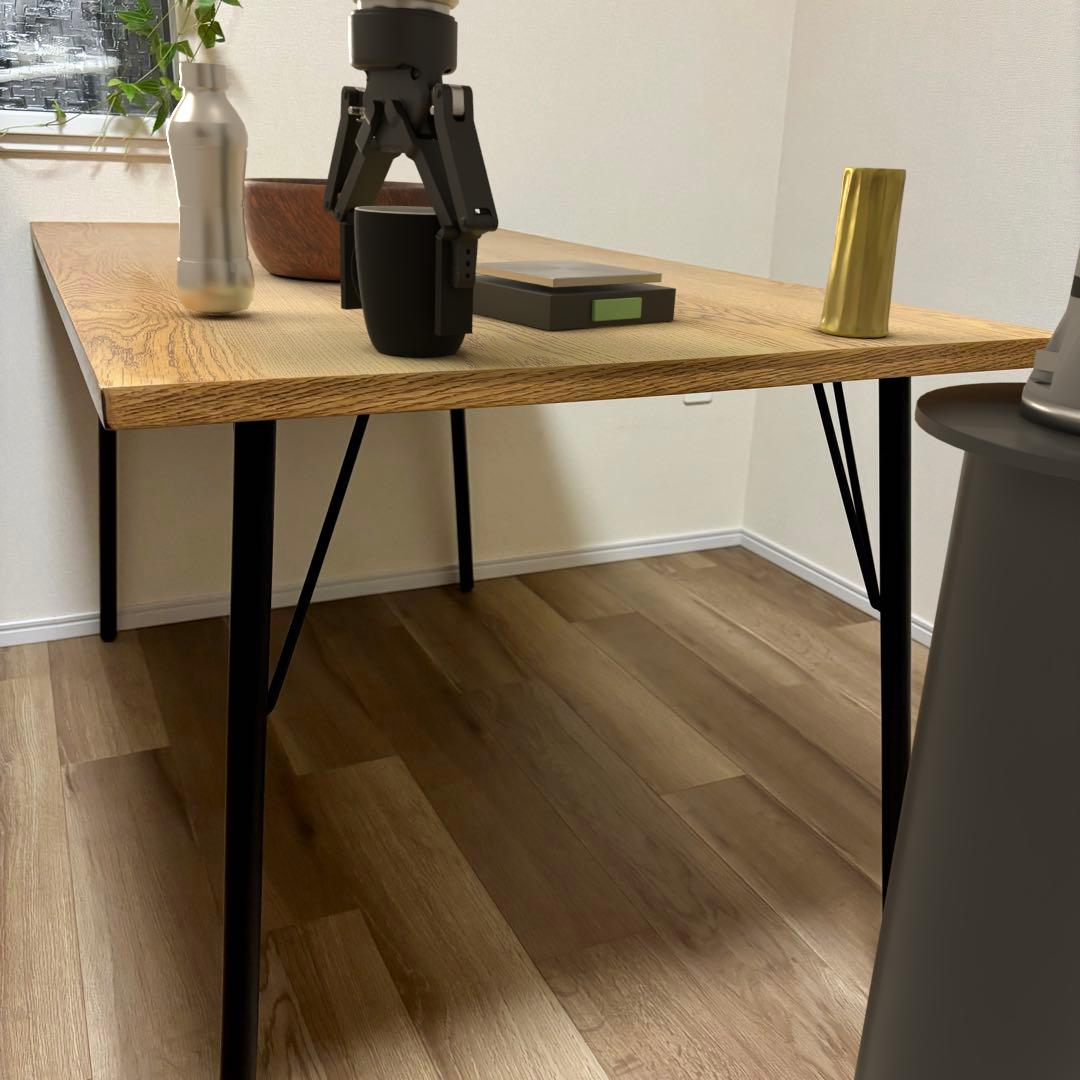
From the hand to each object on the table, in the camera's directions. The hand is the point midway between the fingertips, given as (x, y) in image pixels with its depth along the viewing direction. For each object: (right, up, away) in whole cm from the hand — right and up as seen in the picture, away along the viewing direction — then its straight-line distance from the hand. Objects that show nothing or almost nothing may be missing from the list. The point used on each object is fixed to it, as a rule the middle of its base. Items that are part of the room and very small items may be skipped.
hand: (403, 321), depth 82 cm
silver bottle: (-18, +3, +12) cm, 22 cm away
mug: (0, -2, +1) cm, 2 cm away
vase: (+39, +2, +17) cm, 43 cm away
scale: (+12, +5, +21) cm, 25 cm away
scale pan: (+13, +8, +20) cm, 25 cm away
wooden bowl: (-12, +15, +47) cm, 51 cm away
